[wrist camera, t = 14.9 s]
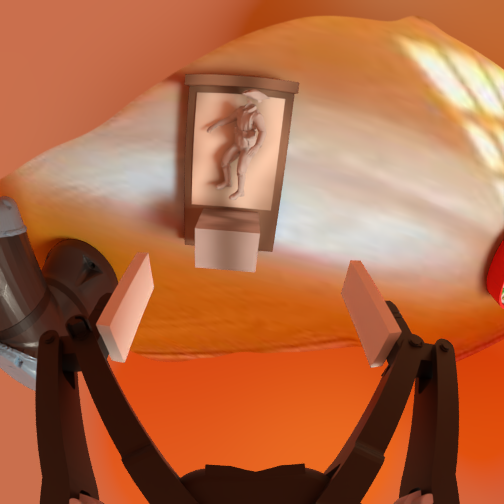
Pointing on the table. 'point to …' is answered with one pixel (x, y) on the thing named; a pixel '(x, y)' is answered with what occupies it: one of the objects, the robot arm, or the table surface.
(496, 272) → the toy clock
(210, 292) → the table surface
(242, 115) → the soldier figure
